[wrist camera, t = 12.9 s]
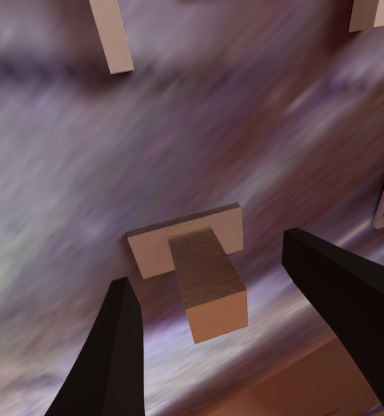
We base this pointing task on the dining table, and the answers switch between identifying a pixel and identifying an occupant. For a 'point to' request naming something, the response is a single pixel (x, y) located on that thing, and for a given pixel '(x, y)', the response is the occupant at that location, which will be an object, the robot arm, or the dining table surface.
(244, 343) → the dining table surface
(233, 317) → the scraper
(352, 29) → the frame
